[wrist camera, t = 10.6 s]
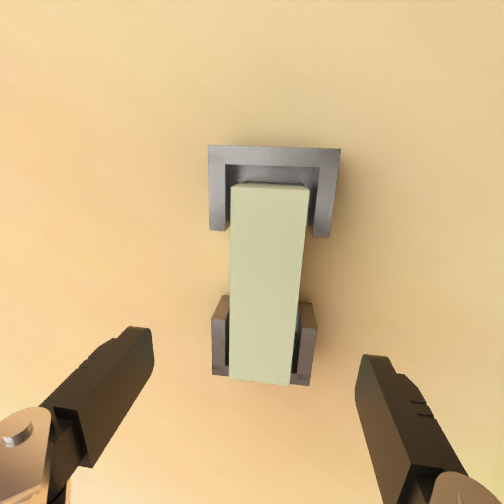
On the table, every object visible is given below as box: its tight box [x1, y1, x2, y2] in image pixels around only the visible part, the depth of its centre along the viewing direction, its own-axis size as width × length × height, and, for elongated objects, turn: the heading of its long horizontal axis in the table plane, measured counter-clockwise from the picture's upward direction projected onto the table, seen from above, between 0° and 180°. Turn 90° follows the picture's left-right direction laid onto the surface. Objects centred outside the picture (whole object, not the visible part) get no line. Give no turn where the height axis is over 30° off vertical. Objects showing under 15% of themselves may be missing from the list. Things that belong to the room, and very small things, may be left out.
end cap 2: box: [211, 296, 317, 386], centre depth 21 cm, size 5×7×4 cm
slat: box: [229, 181, 310, 386], centre depth 18 cm, size 12×4×5 cm, turn 178°
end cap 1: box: [208, 145, 341, 238], centre depth 17 cm, size 5×7×4 cm
